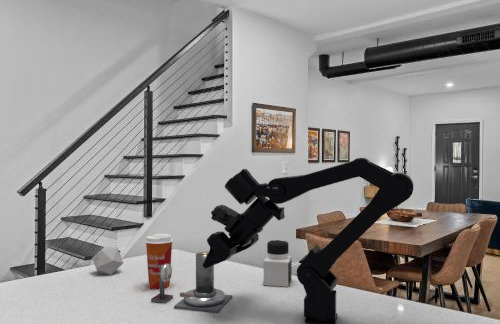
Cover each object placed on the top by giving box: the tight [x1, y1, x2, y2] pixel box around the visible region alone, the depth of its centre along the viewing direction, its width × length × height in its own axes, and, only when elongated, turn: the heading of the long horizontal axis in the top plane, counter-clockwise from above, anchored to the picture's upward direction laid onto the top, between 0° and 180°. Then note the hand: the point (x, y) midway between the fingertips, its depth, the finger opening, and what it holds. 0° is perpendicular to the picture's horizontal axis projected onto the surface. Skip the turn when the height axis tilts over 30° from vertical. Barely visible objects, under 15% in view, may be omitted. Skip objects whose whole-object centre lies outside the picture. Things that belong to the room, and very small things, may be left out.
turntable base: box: [173, 294, 234, 314], centre depth 105 cm, size 11×11×1 cm
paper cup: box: [144, 233, 174, 290], centre depth 118 cm, size 8×8×14 cm
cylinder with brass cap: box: [193, 251, 217, 298], centre depth 104 cm, size 6×6×10 cm
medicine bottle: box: [263, 239, 293, 288], centre depth 121 cm, size 7×7×12 cm
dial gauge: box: [150, 264, 174, 304], centre depth 107 cm, size 4×4×9 cm
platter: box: [179, 288, 226, 306], centre depth 105 cm, size 11×10×1 cm
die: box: [91, 246, 124, 276], centre depth 132 cm, size 8×9×10 cm
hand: (213, 262), depth 104 cm, fingers open, 9 cm apart
